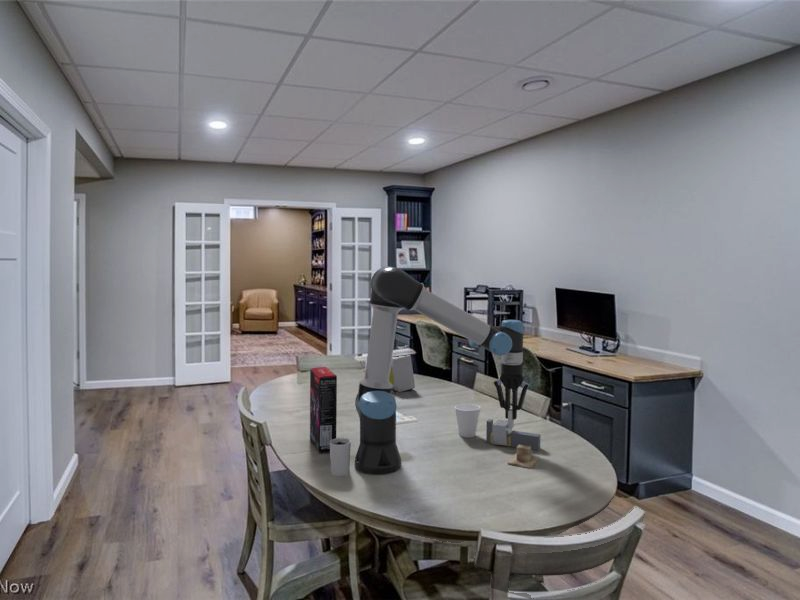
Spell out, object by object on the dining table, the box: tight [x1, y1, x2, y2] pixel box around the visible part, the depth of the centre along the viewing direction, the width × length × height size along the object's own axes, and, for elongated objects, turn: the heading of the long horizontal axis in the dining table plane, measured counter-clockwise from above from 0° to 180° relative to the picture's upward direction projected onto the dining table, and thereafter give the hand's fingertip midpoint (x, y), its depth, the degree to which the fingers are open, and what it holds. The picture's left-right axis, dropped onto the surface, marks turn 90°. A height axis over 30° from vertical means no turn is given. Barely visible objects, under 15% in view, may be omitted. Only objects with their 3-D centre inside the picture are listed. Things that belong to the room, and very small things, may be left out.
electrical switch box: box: [389, 354, 416, 393], centre depth 285 cm, size 14×15×20 cm
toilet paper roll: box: [329, 437, 352, 477], centre depth 175 cm, size 7×7×10 cm
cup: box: [454, 403, 482, 439], centre depth 211 cm, size 10×10×11 cm
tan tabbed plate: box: [507, 444, 540, 469], centre depth 185 cm, size 8×10×5 cm
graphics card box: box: [309, 366, 338, 454], centre depth 199 cm, size 17×7×27 cm, turn 21°
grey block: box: [492, 419, 513, 446], centre depth 202 cm, size 5×7×7 cm
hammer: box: [485, 418, 541, 452], centre depth 200 cm, size 19×3×8 cm, turn 63°
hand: (510, 427), depth 201 cm, fingers closed
